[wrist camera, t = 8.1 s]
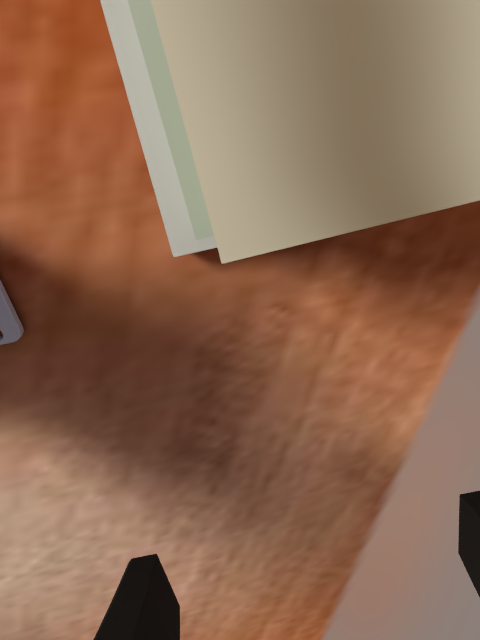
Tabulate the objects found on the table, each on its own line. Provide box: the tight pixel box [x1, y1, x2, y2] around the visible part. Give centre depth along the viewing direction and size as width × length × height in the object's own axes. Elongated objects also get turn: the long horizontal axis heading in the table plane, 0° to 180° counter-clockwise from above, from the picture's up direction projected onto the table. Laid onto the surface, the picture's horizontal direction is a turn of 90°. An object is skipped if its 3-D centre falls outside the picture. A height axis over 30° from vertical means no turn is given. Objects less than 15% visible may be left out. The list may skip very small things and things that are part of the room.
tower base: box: [100, 0, 217, 257], centre depth 15 cm, size 9×9×2 cm
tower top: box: [128, 0, 214, 240], centre depth 12 cm, size 7×7×2 cm
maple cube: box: [151, 0, 480, 264], centre depth 9 cm, size 5×5×5 cm
